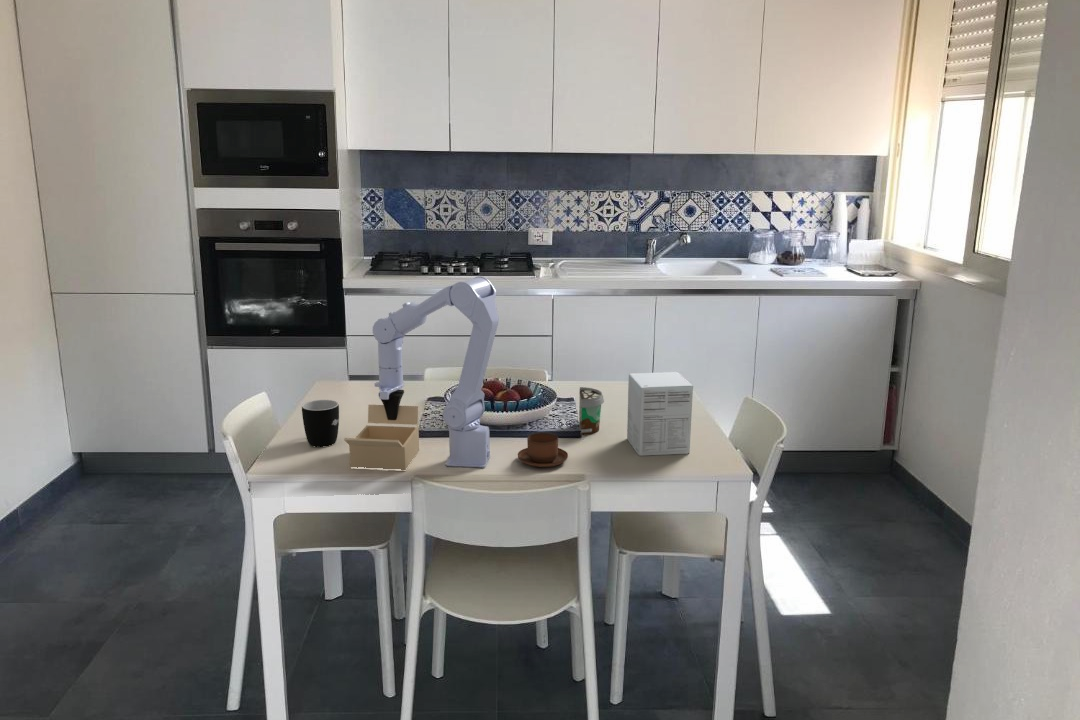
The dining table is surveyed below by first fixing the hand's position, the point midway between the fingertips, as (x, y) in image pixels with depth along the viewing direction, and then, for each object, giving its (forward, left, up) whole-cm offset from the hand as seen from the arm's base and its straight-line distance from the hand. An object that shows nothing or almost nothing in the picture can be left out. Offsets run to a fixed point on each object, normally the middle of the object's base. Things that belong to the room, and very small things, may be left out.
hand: (392, 419), depth 221 cm
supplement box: (-65, -9, -8) cm, 66 cm away
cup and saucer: (-38, +5, -8) cm, 39 cm away
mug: (+19, -3, -8) cm, 21 cm away
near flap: (0, +17, 0) cm, 17 cm away
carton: (0, +8, -8) cm, 11 cm away
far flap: (0, 0, +1) cm, 1 cm away
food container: (-48, -20, -8) cm, 53 cm away
